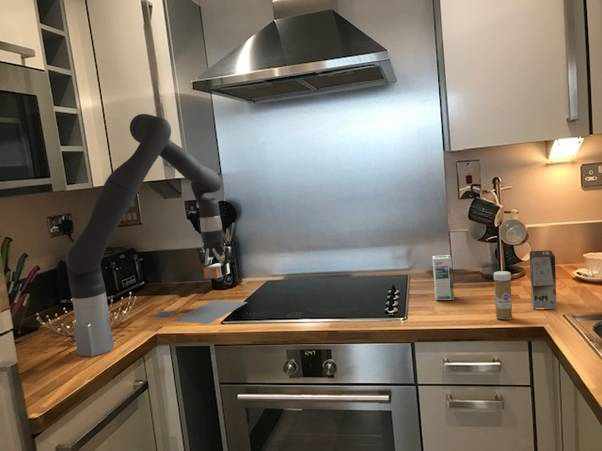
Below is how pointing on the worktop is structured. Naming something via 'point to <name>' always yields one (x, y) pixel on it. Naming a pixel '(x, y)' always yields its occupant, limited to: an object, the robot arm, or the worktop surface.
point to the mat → (209, 312)
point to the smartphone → (164, 314)
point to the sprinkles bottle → (503, 294)
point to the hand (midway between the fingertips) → (217, 274)
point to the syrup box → (443, 277)
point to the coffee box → (543, 279)
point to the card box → (214, 271)
